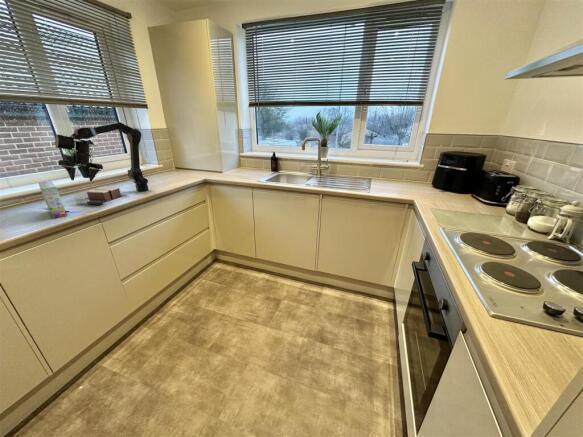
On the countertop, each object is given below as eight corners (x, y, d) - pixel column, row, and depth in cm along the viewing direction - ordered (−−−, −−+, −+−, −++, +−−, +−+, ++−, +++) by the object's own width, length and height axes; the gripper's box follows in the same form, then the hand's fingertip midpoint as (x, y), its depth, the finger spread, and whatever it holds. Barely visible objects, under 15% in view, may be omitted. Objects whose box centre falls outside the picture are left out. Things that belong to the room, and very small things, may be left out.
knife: (104, 206, 132) (101, 199, 131) (100, 207, 130) (97, 200, 129) (79, 204, 136) (77, 197, 134) (75, 205, 134) (72, 199, 132)
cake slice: (110, 198, 142) (108, 190, 141) (105, 200, 139) (102, 192, 137) (94, 197, 145) (92, 189, 143) (89, 199, 142) (86, 191, 140)
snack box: (68, 215, 119) (56, 186, 114) (53, 219, 115) (40, 188, 110) (62, 206, 133) (51, 180, 127) (48, 209, 129) (36, 182, 123)
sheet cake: (121, 195, 149) (118, 187, 147) (112, 197, 144) (110, 189, 142) (105, 194, 151) (103, 186, 149) (96, 197, 146) (93, 189, 144)
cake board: (128, 196, 149) (127, 194, 149) (105, 204, 135) (104, 202, 135) (102, 195, 153) (101, 193, 153) (76, 202, 139) (76, 201, 139)
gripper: (88, 152, 139) (88, 179, 141) (50, 147, 121) (50, 177, 123) (104, 155, 137) (103, 182, 139) (67, 149, 119) (66, 180, 121)
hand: (81, 180), depth 131 cm, fingers open, 9 cm apart
